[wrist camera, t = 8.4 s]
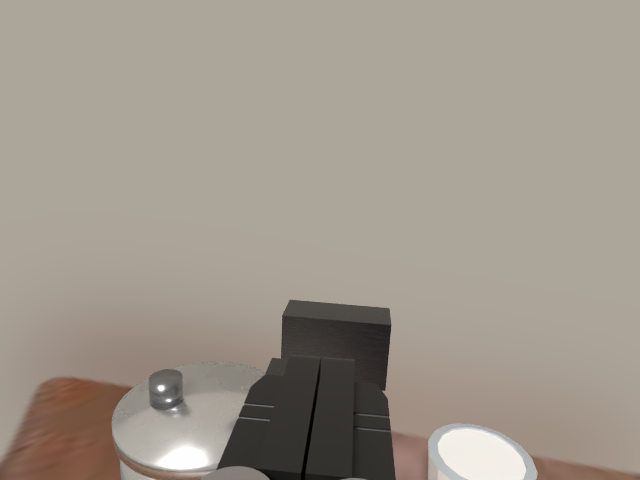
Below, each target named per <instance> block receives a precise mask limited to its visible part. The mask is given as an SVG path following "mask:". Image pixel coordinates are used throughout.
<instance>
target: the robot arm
mask: <svg viewBox="0 0 640 480" xmlns="http://www.w3.org/2000/svg"><path fill="white" fill-rule="evenodd" d="M354 365H355V360H354V359H341V358H329V357H324V358H323V364H322V370H321V357H316V356H303V355H290V356H289V359H288V362H287V366H286V369H285V372H284V376H278V375H267V374H265V375H264V376H263V377H262V378H260V379H259V380H258V381H257V382H256V383H255V384H253V385H252V386H251V387H250V390H249V392H248V395H247V397H246V399H245V402H244V406H242V409H241V411H240V414H239V418H238V419H237V421H236V423H235V426H234V428H233V430H232V433H231V435H230V438H229V440H228V442H227V445H226V447H225V450H224V452H223V454H222V457H221V459H220V462H219V464H218V466H217V469H216V470H215V471H213V472H211V473H209V474H207V475H206V476H204V477H203V478H201V479H200V480H396V478H395V468H394V458H393V448H392V438H391V428H390V419H389V408H388V399H387V397H386V396H385V394H384V393H383V392H382V390H381V389H380V388H379V386H378V385H377V384H373V383H362V382H354Z"/></svg>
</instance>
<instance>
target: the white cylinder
mask: <svg viewBox="0 0 640 480" xmlns="http://www.w3.org/2000/svg"><path fill="white" fill-rule="evenodd" d="M537 474H538V473H537V471H536V468H535V465H534V463H533V460H532V458H531V457H530V456H529V455H528V454H527V453H526V451H525V450H524V449H523V448H522V447H521V446H520V445H519V444H517V443H516V442H514V441H513V440H511V439H509V438H508V437H507V436H505V435H503V434H502V433H499V432H497V431H494V430H491V429H489V428H486V427H483V426H478V425H472V424H466V423H461V424H450V425H446V426H444V427H442V428H439V429H437V430H435V432H434V433H433V434H432V436H431V437H430V439H429V440H428V480H536V477H537Z"/></svg>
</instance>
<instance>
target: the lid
mask: <svg viewBox="0 0 640 480" xmlns="http://www.w3.org/2000/svg"><path fill="white" fill-rule="evenodd" d="M390 333H391V319H390V310H389V308H378V307H368V306H356V305H344V304H332V303H321V302H309V301H297V300H290V301H289V303H288V305H287V307H286V309H285V311H284V313H283V315H282V347H281V359H277V358H272V360H271V362H270V364H269V367H268V369H267V371H266V372H264V371H262V370H260V369H257V368H254V367H251V366H248V365H243V364H238V363H231V362H202V363H194V364H188V365H183V366H179V367H175V368H172V369H166V370H161V371H158V372H155V373H154V374H152V375H151V376H150V377H149V378H148V379H146V380H144V381H143V382H141V383H139V384H138V385H136V386H135V387H134V388H132V389H131V390H130V391H129V392H128V393H127V394H126V395H125V396H124V397H123V398H122V399H121V401H120V402H119V403H118V405H117V407H116V408H115V411H114V414H113V418H112V434H113V445H114V448H115V451H116V453H117V455H118V456H119V458H120V460H121V461H122V462H123V463H124V464H125V465H126V466H128V467H129V468H131V469H132V470H134V471H135V472H137V473H139V474H141V475H143V476H146V477H149V478H152V479H156V480H200V479H201V478H203V477H204V476H206V475H207V474H209V473H211V472H213V471H215V470H216V469H217V466H218V464H219V462H220V459H221V457H222V454H223V452H224V450H225V447H226V445H227V442H228V440H229V438H230V435H231V433H232V430H233V428H234V426H235V423H236V421H237V419H238V418H239V414H240V411H241V409H242V406H244V402H245V399H246V397H247V395H248V392H249V390H250V387H251V386H252V385H253V384H255V383H256V382H257V381H258V380H259V379H260V378H262V377H263V376H264V375H265V374H267V375H278V376H284V372H285V369H286V366H287V362H288V359H289V356H290V355H303V356H316V357H321V370H322V364H323V358H324V357H329V358H341V359H354V360H355V365H354V382H362V383H373V384H377V385H378V386H379V388H380V389H381V390H383V391H385V386H386V376H387V366H388V355H389V344H390Z"/></svg>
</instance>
